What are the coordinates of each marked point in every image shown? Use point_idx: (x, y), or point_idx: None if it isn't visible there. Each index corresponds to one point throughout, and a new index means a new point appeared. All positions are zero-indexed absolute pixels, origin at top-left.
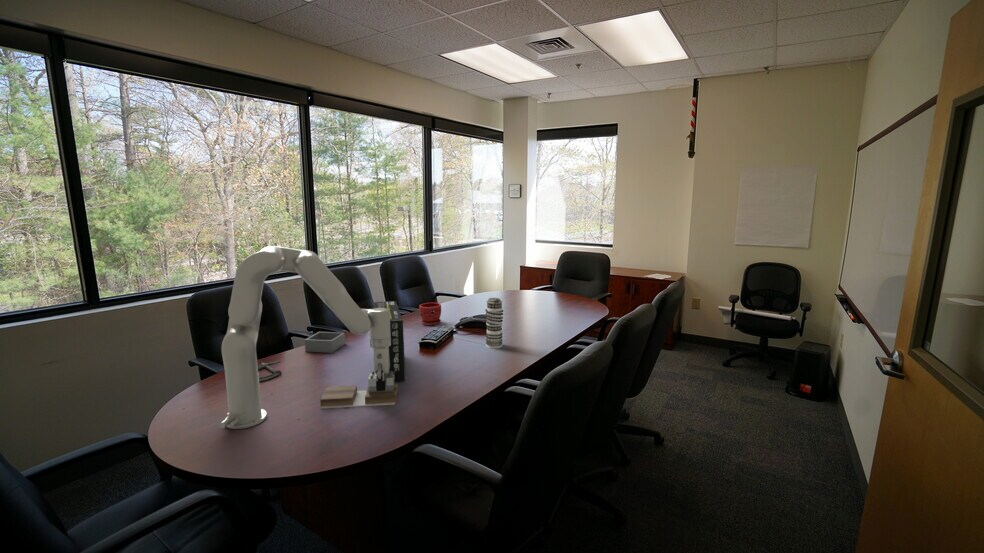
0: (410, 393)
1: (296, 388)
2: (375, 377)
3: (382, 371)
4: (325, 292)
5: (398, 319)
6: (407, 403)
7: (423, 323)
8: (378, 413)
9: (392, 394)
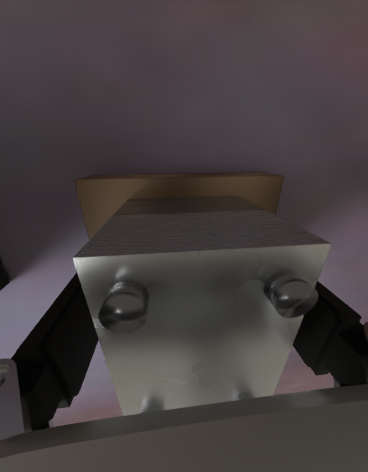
0: (132, 79)
1: None
2: (251, 391)
3: (68, 372)
4: None
5: None
6: (276, 100)
7: None
8: (324, 238)
9: (259, 200)
